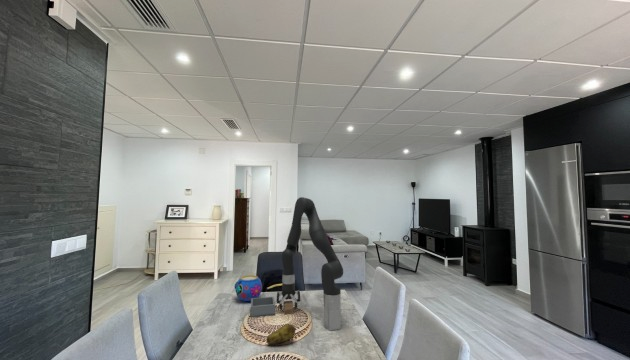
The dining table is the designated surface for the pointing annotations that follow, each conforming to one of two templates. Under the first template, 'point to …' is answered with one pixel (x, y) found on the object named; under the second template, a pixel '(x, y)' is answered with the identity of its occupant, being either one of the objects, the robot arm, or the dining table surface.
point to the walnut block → (288, 307)
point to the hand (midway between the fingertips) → (288, 309)
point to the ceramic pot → (248, 287)
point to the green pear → (281, 334)
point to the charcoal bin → (262, 306)
